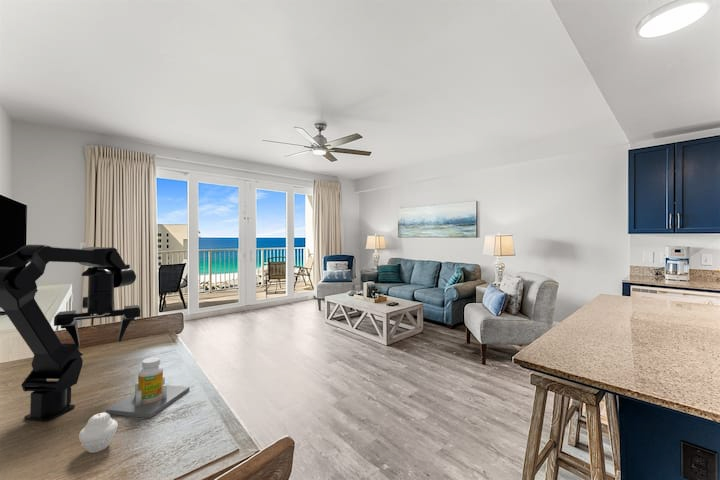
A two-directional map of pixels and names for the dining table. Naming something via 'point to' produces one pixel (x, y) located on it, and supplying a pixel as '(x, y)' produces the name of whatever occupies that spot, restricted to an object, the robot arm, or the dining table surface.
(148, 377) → the supplement bottle
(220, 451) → the dining table surface
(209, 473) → the dining table surface
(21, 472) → the dining table surface
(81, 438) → the white lump
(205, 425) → the dining table surface
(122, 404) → the pin tray
